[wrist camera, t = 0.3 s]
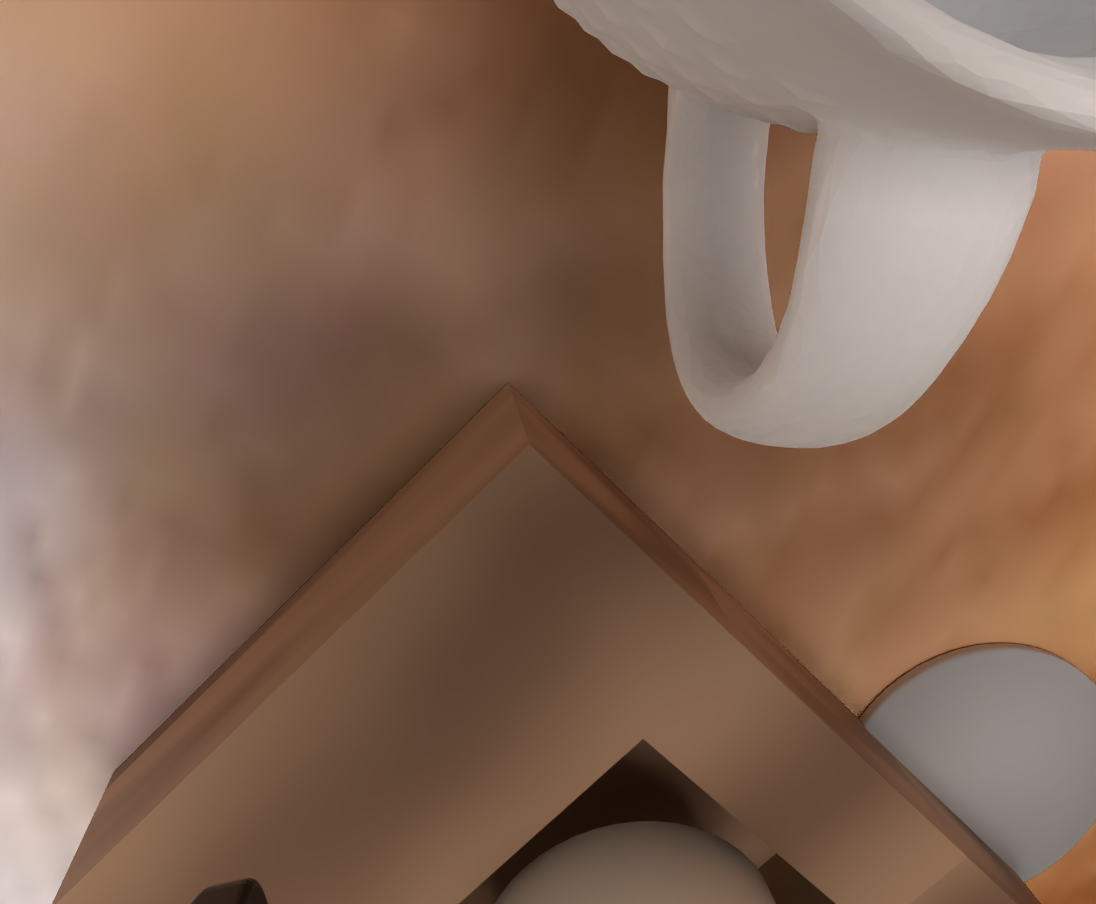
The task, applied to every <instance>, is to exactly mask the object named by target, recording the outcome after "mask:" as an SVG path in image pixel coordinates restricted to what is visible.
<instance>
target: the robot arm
mask: <svg viewBox="0 0 1096 904" xmlns="http://www.w3.org/2000/svg"><path fill="white" fill-rule="evenodd" d="M189 904H268V902H267V899H266V896H265V893H264V891H263V888H262V887H261V885H260V884H259V882H258V881H257V880H255V879H252V878H244V879H239V880H235V881H230V882H225V883H221V884H216V885H212V886H209V887H206V888H205V889H203V890H202V891H201V892H200V893H199V894H198V895H197V896H196V897H195V898H194V899H193V900H192V901H191V902H190V903H189Z"/></svg>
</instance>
